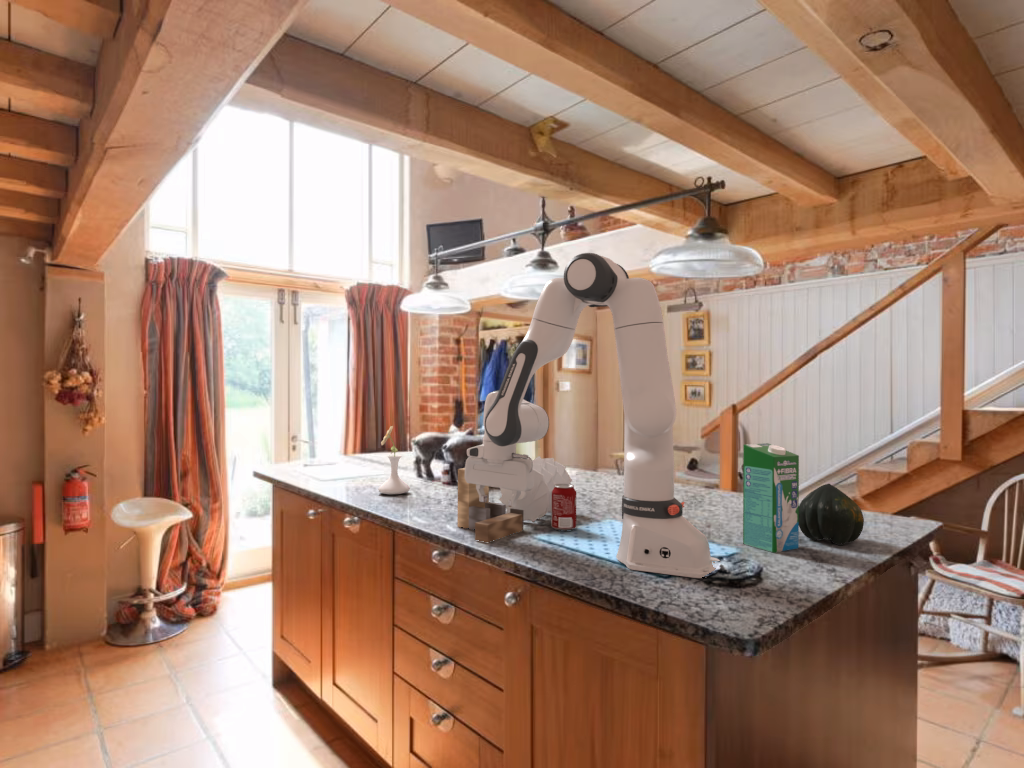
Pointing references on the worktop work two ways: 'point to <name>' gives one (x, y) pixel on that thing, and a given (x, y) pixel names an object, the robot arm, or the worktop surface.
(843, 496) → the squash
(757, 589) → the worktop surface
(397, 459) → the flower in vase
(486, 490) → the post
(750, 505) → the milk carton
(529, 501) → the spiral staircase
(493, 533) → the wooden block
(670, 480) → the robot arm
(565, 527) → the soda can
